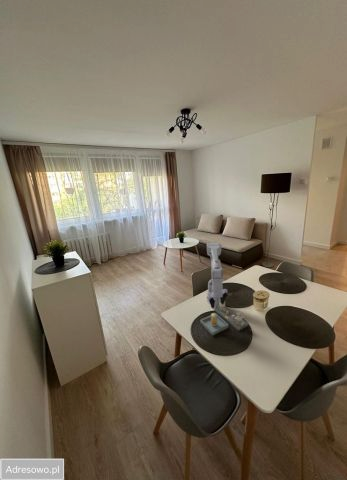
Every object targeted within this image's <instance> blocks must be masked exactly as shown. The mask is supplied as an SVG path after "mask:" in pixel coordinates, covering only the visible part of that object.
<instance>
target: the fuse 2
mask: <svg viewBox="0 0 347 480" xmlns="http://www.w3.org/2000/svg"><path fill="white" fill-rule="evenodd" d="M235 312H236V313H235V314H236V323H237V324H238V325H241V323H242V319H243V312H242V311H239V310H237V311H235Z"/></svg>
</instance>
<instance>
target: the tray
mask: <svg viewBox="0 0 347 480" xmlns="http://www.w3.org/2000/svg"><path fill="white" fill-rule="evenodd" d="M199 322H200V325H201V326H202V327H203V328H205V330H206V331H207V332H208V333H209V334H210V335H211V336H212V337H213V336H215V335H217V334H219V333H221V332H223V331H225V330H227V329H229V324H230V323H228V322H227V321H226V320H225V319H224V318H223V317H221V316H220V315H219V314H217V326H215V327H214V326H212V325H211V314H209V316H206V317H204V318H202V319H200V320H199Z"/></svg>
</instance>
